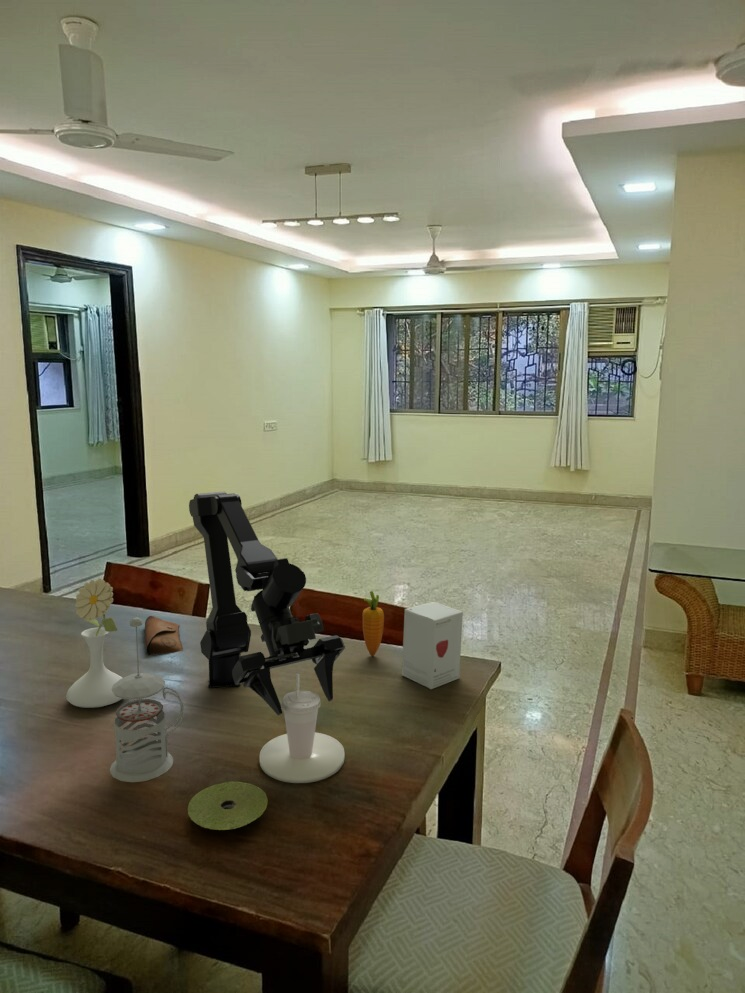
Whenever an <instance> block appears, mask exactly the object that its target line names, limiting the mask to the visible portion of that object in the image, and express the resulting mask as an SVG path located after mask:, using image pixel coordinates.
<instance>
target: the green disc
mask: <svg viewBox="0 0 745 993" xmlns="http://www.w3.org/2000/svg"><path fill="white" fill-rule="evenodd" d="M267 806H268V797H267V794H266V792H265V791H264V790H263V789H261V788H260V787H259V786H257V785H255V784H252V783H248V782H243V781H225V782H221V783H216V784H213V785H210V786H208V787H205V788H204V789H202V790H200V791H199V792H197V793H196V794H195V795H194V796H193V797H192V798H191V799H190V800H189V803H188V806H187V815H188V817H189V818H190V820H191V821H192V822H194V823H195V824H196V825H198V826H200V827H201V828H204V829H209V830H216V831H217V830H218V831H226V830H235V829H238V828H241V827H244V826H247V825H248V824H251V823H252V822H254V821H256V820H258V818H260V817H261V816H262V815H263V814H264V813H265V811H266V809H267Z"/></svg>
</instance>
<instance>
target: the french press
mask: <svg viewBox="0 0 745 993" xmlns="http://www.w3.org/2000/svg"><path fill="white" fill-rule="evenodd" d="M129 626H130V627H133V628H134V627H135V638H136V640H135V641H136V642H135V643H136V644H135V645H136V663H137V664H136V668H137V672H136V673H131V674H129V675H127V676H125V677H122V679H120V680H119V681H117V682H116V683H115V684H114V685H113V686H112V692H113V693H114V695H115V696H117V697H119V698H121V700H122V699H123V700H130V701H128V702H126V703H123V704H121V705H120V706H119V707H118V708H117V709H116V711H115V715H116V717H115V718H114V739H115V741H114V743H115V760H114V761H113V762H112V763H111V765H110V768H109V773H110V774H111V776H112V778H114V779H116V780H118V781H120V782H125V783H126V782H127V783H138V782H140V783H141V782H147V781H150V780H154V779H156V778H158V777H160V776H162V775H163V774H165V773H167V772H168V771H169V770H170V768H172V766H173V764H174V757H173V756H172V754H170V752H168V736H169V735H170V734H171V733H172V732H175V731H176V729H178V728H179V726H180V725H181V723H182V721H183V719H184V712H185V710H184V704H183V701H182V698H181V696H180V695H179V693H178V691H176V690H174V689H173V688H170V687H168V686H165V685H166V680H165V679H164V678H163V677H162V676H158V675H156V674H152V673H149V672H140V670H139V669H140V667H139V666H140V664H139V642H138V640H139V639H138V627H141V626H143V620H142V618H140V617H138V616H137V617H133V618H131V619H130V622H129ZM165 690H170V691H165ZM161 691H162V698H163V700H166V696H167V695H166V694H170V695H173V696H174V697H176V698H177V700H178V701H179V703H180V711H179V714H178V716H177V719H176V720H175V721H174V722H173V723H172V724H170V725H169V726H167V727H166V717H165V711H163V709H164V705H163V703H161V701H159V700H156V699H152V698H151V697H152V696H155V695H157V694H160V692H161ZM149 698H150V699H149ZM155 718H156V719H155ZM144 721H150V722H153V723H147V722H144ZM178 721H179V722H178ZM139 722H143V723H140V724H138V725H136V724H137V723H139ZM127 723H129V724H128V725H126V724H127ZM154 723H155V725H154ZM177 723H178V724H177ZM175 724H177V725H176V726H175ZM124 725H126V726H124ZM134 725H135V726H134ZM122 726H124V727H123V728H122ZM173 726H175V727H174V728H173V729H171V730H169V729H170V728H172V727H173ZM131 727H133V728H132V729H130V728H131ZM167 730H169V731H168V732H167ZM147 735H149V737H148V736H147ZM121 742H122V743H121ZM129 743H131V744H130V745H129ZM127 745H129V746H127ZM121 750H123V751H121Z"/></svg>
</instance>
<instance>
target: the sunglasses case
mask: <svg viewBox="0 0 745 993" xmlns="http://www.w3.org/2000/svg"><path fill="white" fill-rule="evenodd" d="M180 636H181V635H180V624H178V623H175V622H172V621H168V620H163V619H162V618H159V617H157V616H154V615H149V616H148V617H147V618H146V620H145V622H144V637H145V638H144V642H145V645H144V646H145V651H146V653H147V655H148V656H152V655H153V656H155V655H162V654H170V653H177V652H183V651H184V648H183V645H182V641H181V638H180Z"/></svg>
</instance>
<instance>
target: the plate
mask: <svg viewBox="0 0 745 993" xmlns="http://www.w3.org/2000/svg"><path fill="white" fill-rule="evenodd" d="M345 755H346V754H345V749H344V746H343V744H342V743H341V742H339V740H337V739H336V738H334V737H333V736H330V735H328V734H325V733H320V732H316V731H315V735H314V743H313V750H312V755H311V756H310V757H308V758H306V759H294V758H292V757H291V756H290V753H289V745H288V738H287V733H285V734H281V735H278V736H276V737H274V738H272V739H270V740H269V741H268V742H266V743H265V744H264V745H263V746H262V748H261V750H260V752H259V765H260V768H261V770H262V771H263V773H265V774H266V775H267V776H268V777H270V778H273V779H275V780H277V781H280V782H284V783H291V784H308V783H309V784H310V783H314V782H315V783H316V782H318V781H322V780H325V779H328V778H329V777H332V776H333V775H335V774H337V772H339V770H341V768H342V767H343V765H344V763H345V757H346V756H345Z"/></svg>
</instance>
